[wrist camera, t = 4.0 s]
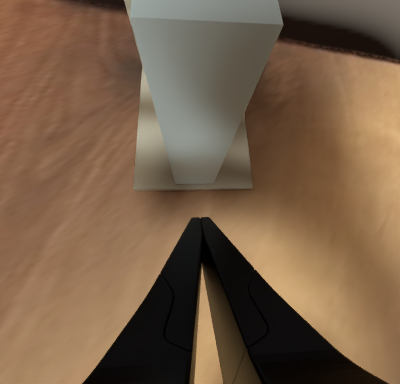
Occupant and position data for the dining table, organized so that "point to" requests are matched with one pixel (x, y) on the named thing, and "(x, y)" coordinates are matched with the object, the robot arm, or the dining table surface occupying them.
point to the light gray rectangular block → (202, 73)
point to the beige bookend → (158, 159)
